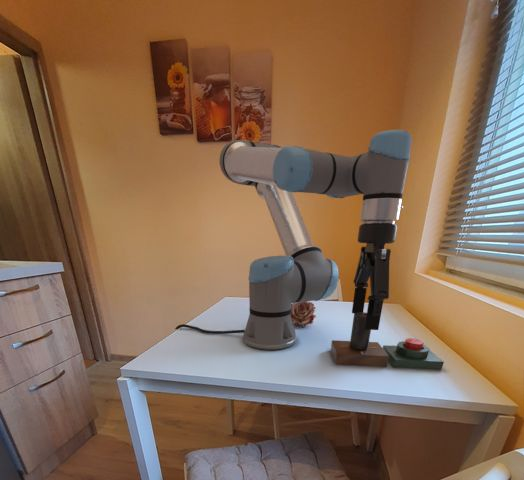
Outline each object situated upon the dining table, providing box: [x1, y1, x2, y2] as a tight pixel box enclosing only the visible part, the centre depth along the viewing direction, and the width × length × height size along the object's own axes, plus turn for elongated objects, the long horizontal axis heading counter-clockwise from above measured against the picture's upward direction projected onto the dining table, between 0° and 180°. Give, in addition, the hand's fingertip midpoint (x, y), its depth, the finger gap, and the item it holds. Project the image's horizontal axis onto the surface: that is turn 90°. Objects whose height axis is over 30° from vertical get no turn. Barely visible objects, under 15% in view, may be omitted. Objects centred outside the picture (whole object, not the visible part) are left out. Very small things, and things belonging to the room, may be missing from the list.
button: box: [404, 337, 425, 350], centre depth 68 cm, size 4×4×2 cm
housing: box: [382, 340, 445, 371], centre depth 69 cm, size 11×9×4 cm
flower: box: [291, 301, 317, 328], centre depth 95 cm, size 10×9×8 cm
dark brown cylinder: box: [349, 311, 372, 351], centre depth 68 cm, size 4×4×9 cm
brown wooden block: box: [330, 339, 389, 368], centre depth 70 cm, size 12×9×3 cm
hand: (363, 320), depth 67 cm, fingers open, 13 cm apart
